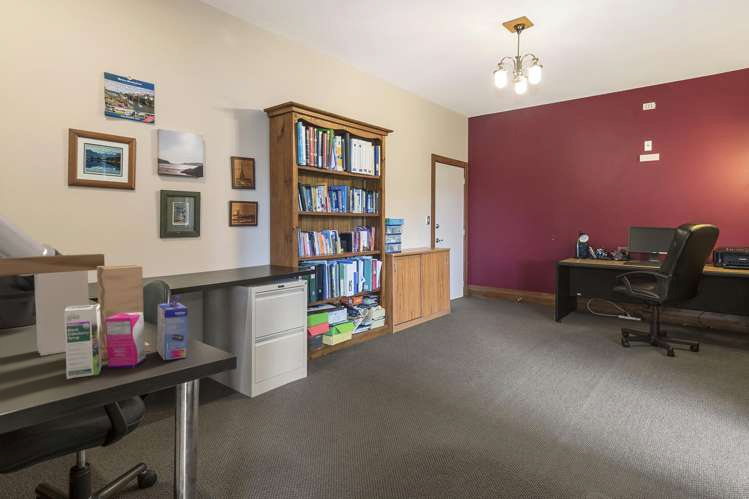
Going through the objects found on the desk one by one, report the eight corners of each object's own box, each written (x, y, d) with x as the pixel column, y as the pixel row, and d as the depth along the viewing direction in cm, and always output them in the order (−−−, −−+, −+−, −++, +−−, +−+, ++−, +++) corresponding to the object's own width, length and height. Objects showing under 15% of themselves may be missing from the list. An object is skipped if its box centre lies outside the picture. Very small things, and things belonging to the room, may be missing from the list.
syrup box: (65, 379, 84) (62, 310, 83) (71, 370, 89) (68, 305, 88) (99, 375, 86) (96, 307, 86) (102, 366, 92) (100, 302, 91)
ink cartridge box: (189, 357, 98) (188, 298, 97) (164, 362, 95) (162, 300, 94) (180, 347, 106) (179, 292, 105) (156, 351, 103) (155, 294, 102)
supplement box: (120, 360, 96) (118, 312, 95) (146, 359, 97) (145, 311, 96) (106, 368, 90) (104, 317, 90) (134, 368, 91) (132, 317, 90)
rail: (-10, 275, 95) (-11, 258, 95) (101, 268, 111) (100, 253, 111) (-9, 276, 93) (-10, 259, 92) (104, 269, 108) (104, 254, 108)
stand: (94, 350, 103) (91, 266, 102) (137, 342, 110) (135, 263, 109) (104, 359, 96) (100, 269, 95) (150, 350, 103) (147, 266, 102)
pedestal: (37, 350, 103) (34, 272, 102) (85, 342, 110) (82, 269, 109) (41, 356, 99) (37, 274, 98) (90, 347, 106) (87, 270, 105)
